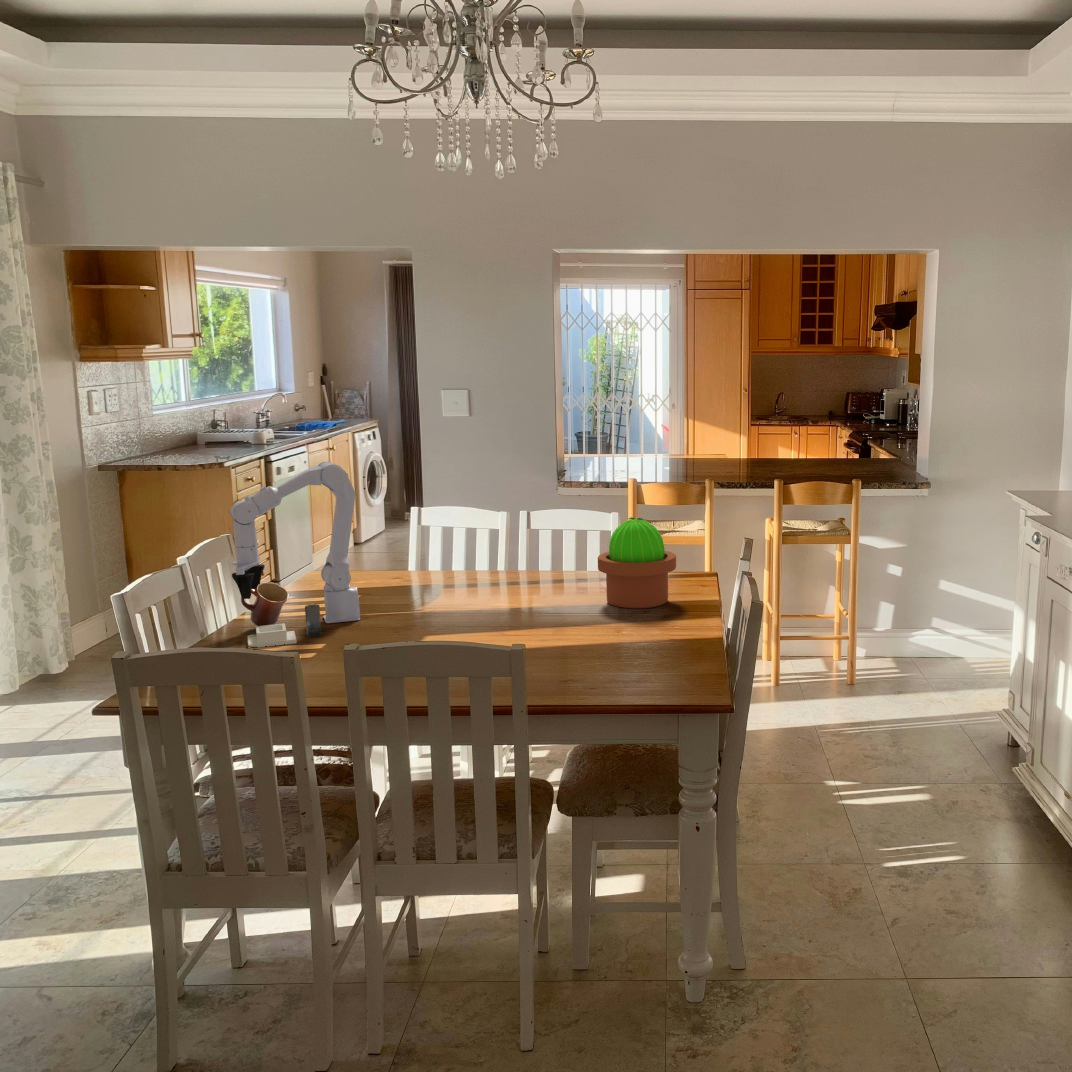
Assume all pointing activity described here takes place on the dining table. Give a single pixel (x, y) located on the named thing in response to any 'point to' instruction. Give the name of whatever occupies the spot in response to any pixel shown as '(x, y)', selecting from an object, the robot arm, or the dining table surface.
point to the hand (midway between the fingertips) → (250, 595)
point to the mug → (266, 603)
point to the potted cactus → (636, 566)
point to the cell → (313, 620)
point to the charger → (271, 636)
